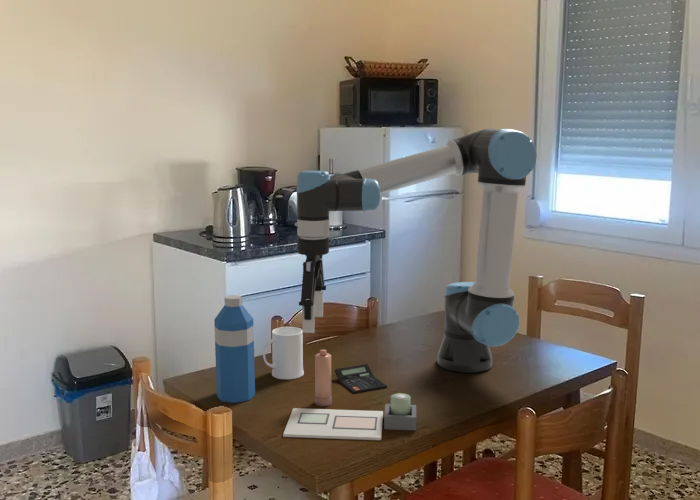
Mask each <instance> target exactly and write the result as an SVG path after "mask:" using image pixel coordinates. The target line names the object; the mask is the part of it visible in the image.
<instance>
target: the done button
mask: <svg viewBox="0 0 700 500" xmlns="http://www.w3.org/2000/svg"><path fill="white" fill-rule="evenodd" d="M411 398H412V397H411V395H409V394H407V393H400V392H398V393H394V394H392V395H390V404H391V415H410V405H412V404H411V402H412V401H411Z"/></svg>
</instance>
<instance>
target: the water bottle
mask: <svg viewBox="0 0 700 500" xmlns="http://www.w3.org/2000/svg"><path fill="white" fill-rule="evenodd" d="M213 320H214V350H215V351H214V352H215V353H214V355H215V377H216V378H215V380H216V381H215V382H216V397H217V398H218V399H219V400H220V402H225V403H231V404H236V403H241V402H242V403H243V402H247V401H250V400H251V399H252V398H254V396H255V395H256V383H255V382H256V381H255V380H256V377H255V376H256V375H255V373H256V372H255V340H254V339H255V336H254V334H255V333H254V331H255V329H254V327H255V325H254V318H253V316H252V314H250V313H249V311H248V310H247V309H246V308H245V306H244V305H243V296H242V295H239V294H233V295H232V294H231V295H226V296H224V306H223V307H222V308H221V310H220V311H219V312H218V314H217V316H216V317H215V318H214V319H213Z"/></svg>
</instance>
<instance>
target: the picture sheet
mask: <svg viewBox="0 0 700 500" xmlns="http://www.w3.org/2000/svg"><path fill="white" fill-rule="evenodd" d="M383 419H384V411H383V410H359V409H357V410H356V409H334V408H333V409H328V408H327V409H326V408H325V409H324V408H301V407H300V408H299V407H298V408H297V407H294V408H292V410H291V413H290V415H289V418H288V421H287V424H286V426H285V428H284V431H283V434H282V437H283V438H306V439H307V438H308V439H309V438H310V439H313V438H314V439H331V440H332V439H333V440H335V439H337V440H359V441H361V440H362V441H382V433H383V423H384V422H383V421H384V420H383Z"/></svg>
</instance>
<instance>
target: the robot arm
mask: <svg viewBox="0 0 700 500" xmlns="http://www.w3.org/2000/svg"><path fill="white" fill-rule="evenodd" d="M537 156H538V155H537V149H536V146H535V144H534V142H533V140H532V139H531V138H530V136H528V135H527V134H526V133H524V131H523V132H522V131H520V130H515V129H513V128H512V129H511V128H483V129H480V130H477V131H474V132H471V133H469V134H466V135H463V136H461V137H457V138H454V139H450V140H448V141H447V142H446V144H445V145H444V146H440V147H436V148H431V149H428V150H425V151H422V152H418V153H414V154H410V155H406V156H403V157H401V158H395V159H392V160H389V161H386V162H382V163H378V164H375V165H370V166H367V167H364V168H360V169H357V170H353V171H349V172H345V173H339V172H338V173H334V174H332V175H330V172H328V171H326V170H302V171H300V172H299V173H298V174H297V181H296V183H297V184H296V213H297V214H296V215H297V216H296V221H297V222H294V226H295V227H297V228H296V229H297V230H296V232H297V234H296V235H297V236H298V237H297V240H296V252H297V253H298V254H299V255H301V256H305V261H303V263H302V280H301V281H302V282H301V284H302V285H301V292H300V293H301V296H300V297H301V298H300V301H299V302H298V306H301V308H302V309H301V311H302V312H301V314H302V317H301V318H302V319H301V321H302V324H301V325H302V326H301V327H302V328H301V329H302V333H303V334H307V333H308V334H315V318H323V317H324V291H326V290H327V285H325V278H324V277H325V276H324V264H323V263H324V262H323V256H324V255H327V254H328V253H329V252H330V239H329V238H328V236H329V235H330V212H360V211H361V212H366V211H374V210H376V209H378V207H379V206H380V202H381V194H385V193H389V192H393V191H396V190H400V189H403V188H407V187H409V186H410V187H411V186H414V185H417V184H422V183H424V182H428V181H431V180H435V179H439V178H442V177H443V178H444V177H445V176H449V175H450V176H451V175H454V176H456V177H461V176H464V175H468V174H469V175H470V174H478V176H477V184H478V185H479V186H480V187H481V189H482V199H481V200H482V201H481V212H480V221H479V232H478V244H477V253H476V265H475V266H476V267H475V277H474V278H475V279H474V281H462V282H461V281H460V282H459V281H458V282H452V283H449V284H447V285H446V287H445V293H444V332H443V333H444V334H443V338H442V342H441V344H440V347H439V350H438V352H437V355H436V356H437V357H436V360H437V362H436V363H437V365H438V366H439V367H440V368H443V369H445V370H447V371H451V372H458V373H465V374H466V373H472V374H473V373H479V372H486V371H488V370H490V369H491V368H492V367H493V356H492V352H491V348H496V347H501V346H504V345H506V344H507V343H509V342H510V341H511V340H512V339H514V337H515V336H516V334H517V332H518V330H519V328H520V316H519V314H518V311H517V310H516V309H515V308H514V301H515V292H514V291H513V290H512V289H511V287H510V277H511V267H512V257H513V247H514V237H515V227H516V220H517V219H516V218H517V209H518V208H517V206H518V196H519V193H520V191H522V189H524V188H525V187H526V184H527V183H526V181H527V176H528V175H529V174H530V173H531V172H532V171H533V170H534V168H535V165H536V162H537ZM490 347H491V348H490Z"/></svg>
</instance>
